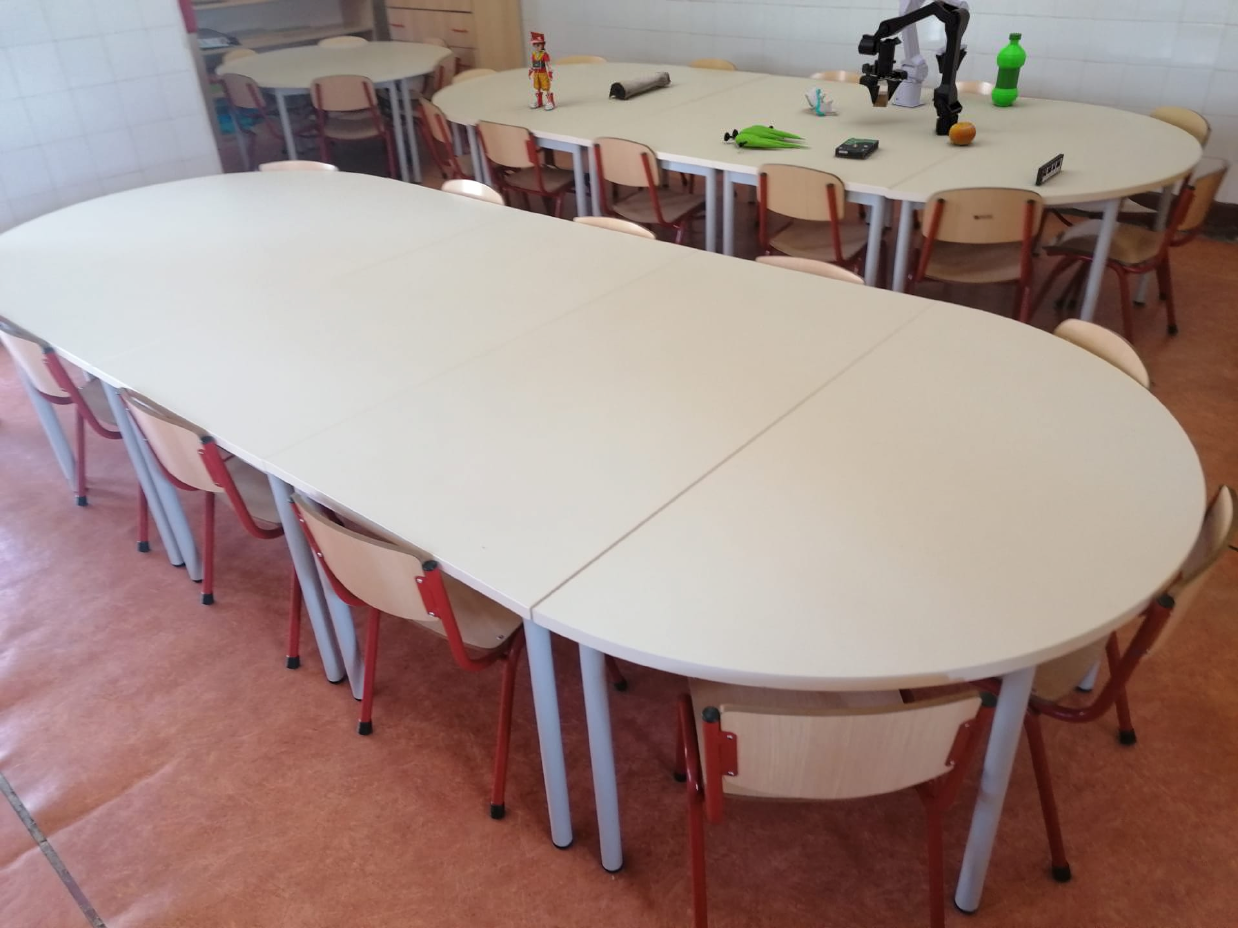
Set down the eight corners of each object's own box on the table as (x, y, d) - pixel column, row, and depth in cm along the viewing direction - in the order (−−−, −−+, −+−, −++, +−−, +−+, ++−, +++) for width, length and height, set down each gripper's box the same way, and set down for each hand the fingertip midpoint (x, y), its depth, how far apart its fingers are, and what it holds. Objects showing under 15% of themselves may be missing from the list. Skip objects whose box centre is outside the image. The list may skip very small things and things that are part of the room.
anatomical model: (800, 85, 355) (825, 78, 354) (804, 112, 360) (828, 105, 360) (810, 94, 342) (836, 87, 341) (813, 121, 348) (839, 114, 347)
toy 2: (713, 146, 317) (792, 161, 304) (715, 131, 314) (794, 145, 301) (747, 132, 337) (821, 146, 325) (748, 118, 334) (824, 131, 322)
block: (888, 104, 334) (889, 91, 332) (886, 107, 330) (887, 94, 328) (875, 103, 336) (876, 91, 333) (872, 106, 332) (874, 94, 330)
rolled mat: (651, 76, 408) (662, 61, 399) (662, 93, 408) (674, 79, 400) (605, 92, 391) (616, 77, 383) (617, 110, 391) (628, 95, 383)
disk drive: (864, 160, 299) (878, 148, 309) (864, 151, 297) (879, 139, 307) (834, 157, 304) (849, 145, 314) (835, 148, 302) (850, 136, 312)
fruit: (944, 129, 311) (958, 112, 304) (966, 137, 313) (980, 120, 306) (944, 146, 307) (958, 129, 300) (966, 154, 309) (980, 138, 302)
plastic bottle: (1022, 104, 346) (1036, 33, 332) (1005, 109, 342) (1018, 37, 328) (1000, 100, 353) (1012, 30, 339) (983, 104, 349) (995, 34, 335)
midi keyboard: (1039, 185, 269) (1043, 168, 266) (1035, 184, 270) (1038, 168, 267) (1060, 170, 279) (1064, 154, 277) (1056, 169, 280) (1060, 153, 277)
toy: (525, 109, 381) (517, 32, 364) (534, 104, 388) (527, 28, 371) (550, 110, 377) (543, 32, 360) (559, 105, 384) (553, 28, 367)
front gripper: (889, 50, 333) (884, 94, 342) (851, 57, 326) (846, 102, 335) (911, 54, 325) (905, 100, 334) (872, 62, 318) (867, 108, 327)
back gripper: (959, 31, 355) (953, 67, 363) (932, 36, 350) (927, 73, 358) (973, 33, 350) (967, 70, 358) (946, 38, 345) (941, 76, 352)
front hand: (880, 102), depth 333 cm, fingers closed on block, 7 cm apart
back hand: (948, 72), depth 357 cm, fingers open, 7 cm apart
